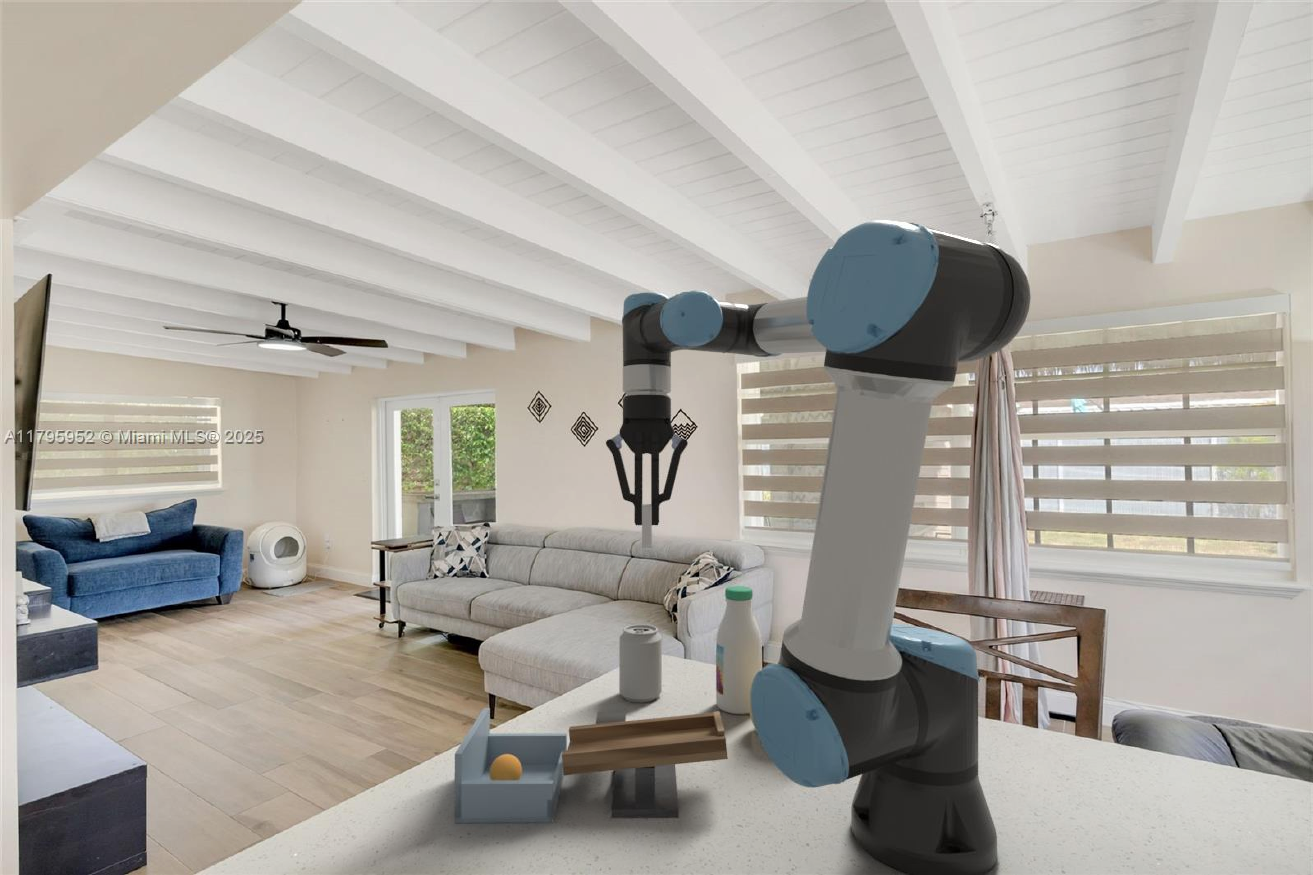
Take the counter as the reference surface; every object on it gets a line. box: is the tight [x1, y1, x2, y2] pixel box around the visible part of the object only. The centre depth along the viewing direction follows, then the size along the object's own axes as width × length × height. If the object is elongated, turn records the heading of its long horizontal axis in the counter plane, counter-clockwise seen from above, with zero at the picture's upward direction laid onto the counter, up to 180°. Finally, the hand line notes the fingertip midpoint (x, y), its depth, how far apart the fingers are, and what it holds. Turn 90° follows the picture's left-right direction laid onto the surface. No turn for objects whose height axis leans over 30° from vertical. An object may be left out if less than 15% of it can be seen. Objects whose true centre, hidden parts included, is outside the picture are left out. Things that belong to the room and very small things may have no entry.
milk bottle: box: [715, 585, 763, 715], centre depth 112 cm, size 8×8×20 cm
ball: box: [490, 754, 522, 780], centre depth 84 cm, size 4×4×4 cm
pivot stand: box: [610, 764, 680, 819], centre depth 84 cm, size 12×8×4 cm, turn 1°
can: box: [618, 623, 663, 703], centre depth 116 cm, size 8×8×12 cm
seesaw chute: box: [562, 708, 728, 776], centre depth 88 cm, size 16×20×3 cm
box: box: [453, 707, 568, 824], centre depth 84 cm, size 14×11×8 cm
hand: (646, 546), depth 103 cm, fingers closed
